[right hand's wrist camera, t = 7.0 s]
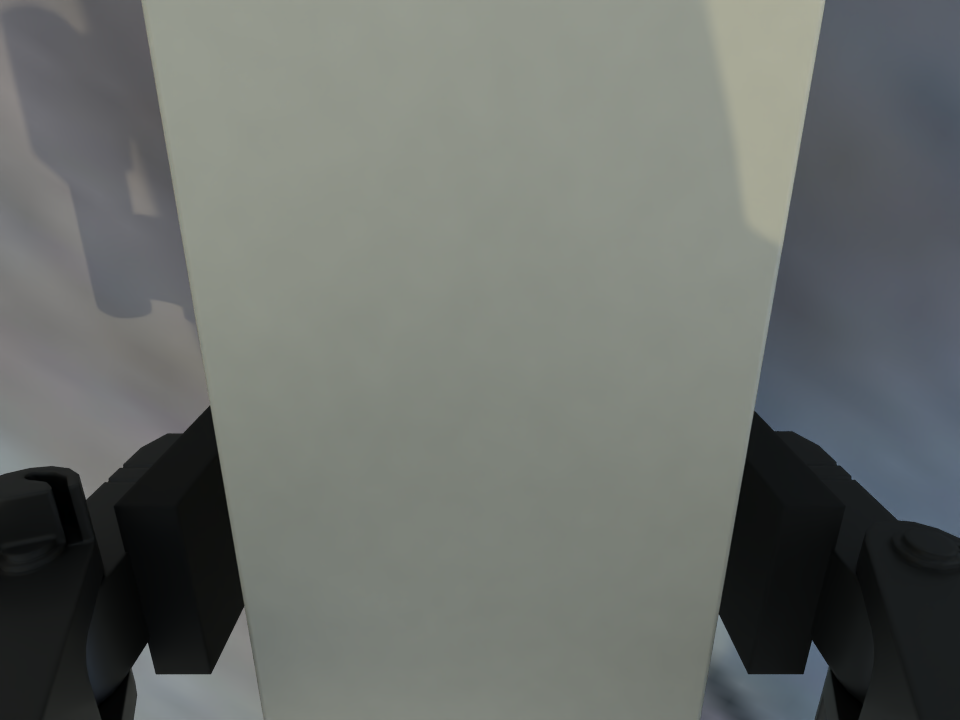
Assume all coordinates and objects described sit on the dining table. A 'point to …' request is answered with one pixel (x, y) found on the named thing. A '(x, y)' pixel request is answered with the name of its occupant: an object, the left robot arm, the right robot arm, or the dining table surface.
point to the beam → (482, 333)
